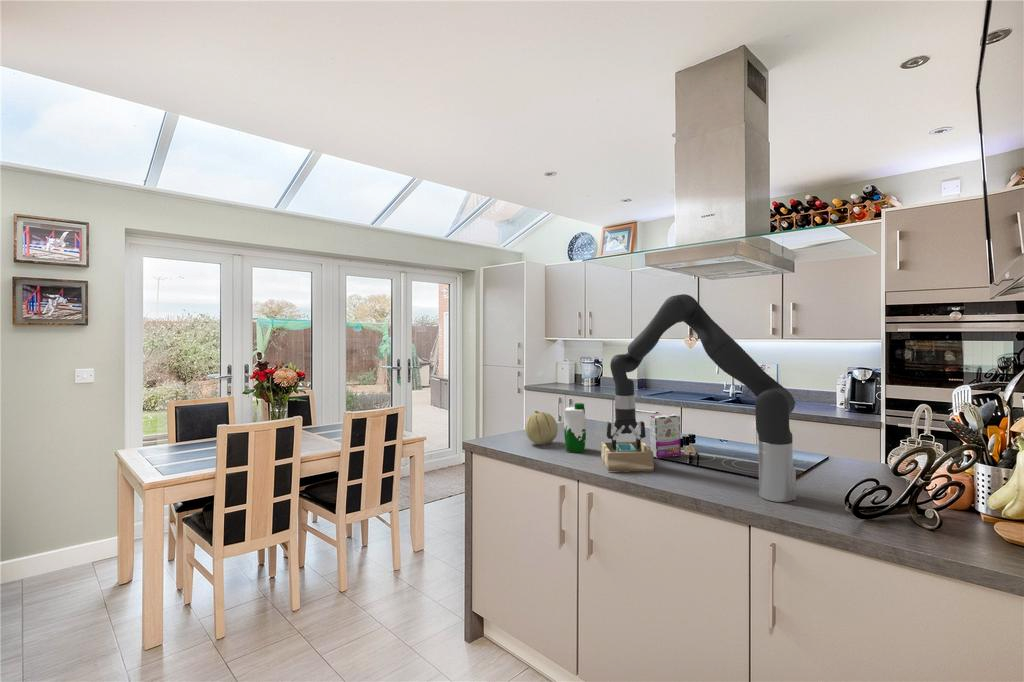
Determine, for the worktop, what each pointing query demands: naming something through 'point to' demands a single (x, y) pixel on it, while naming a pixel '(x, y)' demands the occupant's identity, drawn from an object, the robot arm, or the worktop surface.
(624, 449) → the teal crate
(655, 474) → the worktop surface
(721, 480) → the worktop surface
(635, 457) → the pine crate
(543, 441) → the cantaloupe
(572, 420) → the milk carton
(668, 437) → the candy bar box
